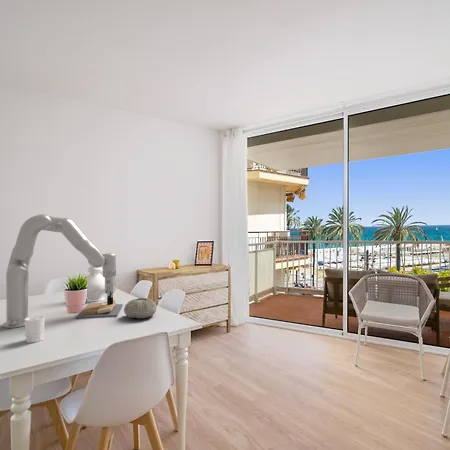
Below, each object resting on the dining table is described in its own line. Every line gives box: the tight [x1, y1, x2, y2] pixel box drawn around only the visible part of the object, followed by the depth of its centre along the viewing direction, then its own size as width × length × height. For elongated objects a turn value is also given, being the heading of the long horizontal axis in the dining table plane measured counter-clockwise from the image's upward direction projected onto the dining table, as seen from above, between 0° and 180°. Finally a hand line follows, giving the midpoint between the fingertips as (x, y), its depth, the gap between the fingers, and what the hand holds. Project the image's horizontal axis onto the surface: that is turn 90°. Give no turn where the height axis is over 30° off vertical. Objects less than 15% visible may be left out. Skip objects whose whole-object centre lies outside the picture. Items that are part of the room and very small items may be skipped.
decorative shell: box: [123, 297, 157, 319], centre depth 180 cm, size 18×18×10 cm
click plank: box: [97, 299, 117, 314], centre depth 192 cm, size 20×8×2 cm, turn 11°
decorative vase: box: [86, 263, 106, 303], centre depth 223 cm, size 18×18×25 cm
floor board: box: [75, 302, 123, 320], centre depth 191 cm, size 26×22×3 cm
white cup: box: [24, 315, 46, 344], centre depth 143 cm, size 8×8×10 cm
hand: (110, 304), depth 192 cm, fingers closed
